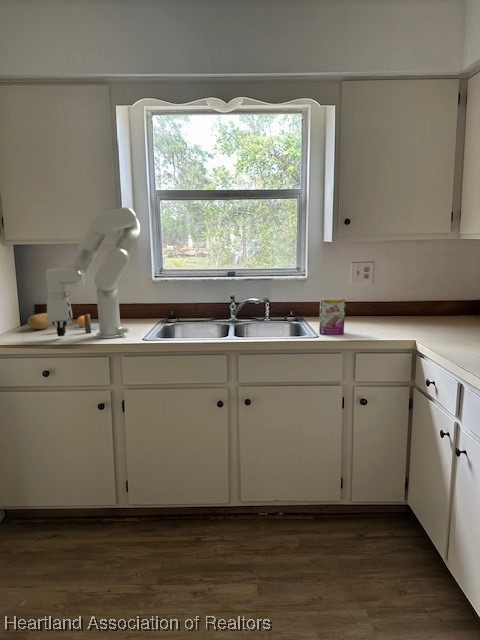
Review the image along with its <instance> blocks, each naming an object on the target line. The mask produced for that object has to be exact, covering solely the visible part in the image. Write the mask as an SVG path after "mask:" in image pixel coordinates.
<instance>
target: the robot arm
mask: <svg viewBox="0 0 480 640" xmlns="http://www.w3.org/2000/svg"><path fill="white" fill-rule="evenodd" d="M117 231H120V233H119V235H118V237H117V239H116V240H115V242H114V244H113V246H112V247H111V249H110V250H109V251H108V252H107V254H106V256H105V257H104V260H103V261H102V263H101V265H100V266H99V269H98V270H97V272H96V273H95V275H94V284H95V289H96V300H97V313H98V315H97V316H98V317H97V318H98V324H99V328H98V329H99V332H97V333H96V338H99V339H115V338H120V337H123V336H125V333H129V331H130V329H129V328H128V327H124V326H123V324H121V319H120V315H121V314H120V298H119V281H120V278H121V277H122V275H123V273H124V272H125V270H126V268H127V266H128V264H129V261H130V257H131V255H132V253H133V251H134V250H135V247H136V246H137V244H138V242H139V239H140V236H141V224H140V222H139V219H138V217H137V214H136V213H135V211H134V210H133V209H132V208H130V207H127V206H126V207H121V208H118V209H114V210H110V211H107V212H102V213H99V214H97V215H94V216H93V217H91V220H90V222H89V226H88V228H87V230H86V232H85V233H84V235H83V237H82V239H81V240H80V242H79V245H78V249H77V252H76V255H75V257H74V259H73V261H72V263H70V266H69V268H60V267H59V268H58V267H57V268H54V267H53V268H48V269H46V272H45V276H46V285H47V294H48V298H47V303H46V313H47V318H48V322H49V323H50V325H51V324H52V325H53V326H54V327H55V328H56V334H57V337H64V336H65V334H66V332H65V328H66V326H67V325H69V324H71V323H72V322H73V321H72V320H73V310H72V306H71V302H70V299H69V298H68V297H70V294H69V293H68V292H67V286H66V285H69V286H70V285H71V286H73V285H74V286H76V285H78V284H80V283H81V282H82V280H83V279H84V277H85V276H86V273H87V272H88V270H89V269H90V267H91V265H92V262H93V261H94V260H95V258H96V257H97V255H98V254H99V252H100V250H101V248H102V247H103V246H102V245H103V244H104V242H105V240H106V238H107V237H108V235H109V234H110V233H113V232H117Z"/></svg>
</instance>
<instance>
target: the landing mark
mask: <svg viewBox="0 0 480 640" xmlns="http://www.w3.org/2000/svg"><path fill="white" fill-rule="evenodd" d="M90 324H91V331H94V330H95V331H96V330H98V329H99V323H91V322H90ZM69 330H82V331H83V330H84V331H85V327H80V326H79V325H78V324H77V325H76V326H73V327H70V328H69Z"/></svg>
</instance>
